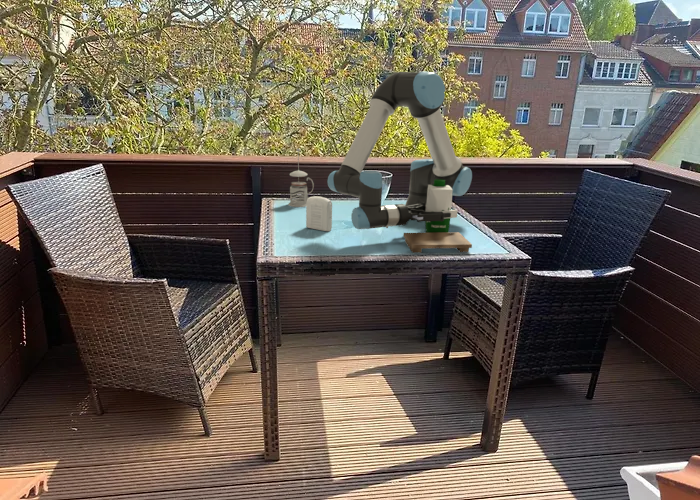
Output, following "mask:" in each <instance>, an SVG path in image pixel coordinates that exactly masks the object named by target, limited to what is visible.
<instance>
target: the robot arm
mask: <svg viewBox="0 0 700 500" xmlns="http://www.w3.org/2000/svg"><path fill="white" fill-rule="evenodd" d="M445 92H446V86H445V84H444V81H443V79H442V77H441V76H440V75H439V74H437V73H435V72H431V71H425V70H424V71H418V72H417V71H397V72H394V73H392V74H391V75H389V76H388V77H386V78H385V79H384V80H383V81H382V82H381V83H380V84H379V86H378V87H377V88H376V89H375V91H374V92H373V95H372V96H371V98H370V100H369V105H370V106H369V109H368V111H367V112H366V115H365V117H364V119H363V121H362V123H361V125H360V127H359V128H358V131H357V133H356V135H355V137H354V139H353V141H352V143H351V145H350V147H349V149H348V151H347V153H346V154H345V157H344V159H343V161H342V162H341V165H340V167H339V170H334V171H333V170H332V171H331V173H329V175H328V177H327V186H328V188H329V189H330V190H331V191H333V192H336V193H337V194H342V195H347V196H352V197H355V198H358V201H359V202H358V206H357V207H354V208H352V212H351V215H350V216H351V218H350V219H351V223H352V225H353V227H354V228H355V229H357V230H370V229H379V228H385V229H389V227H395V226H397V227H398V226H405V225H408V223H409V221H416V222H418V223H421V222H425V221H441V222H442V221H444V219H446V218H450V219H452V218H453V219H455V218H458V209H451V210H447V211H441V212H428V211H426V203H427V191H428V185H434V180H435V179H442V180H445V185H449V186H450V187H451V188H452V189H453V191H452V197H453V196H456V197H461V196H463V195H465V194H466V193H467V191H469V188H470V186H471V184H472V179H473V171H472V170H471V168H470V167H468V166H464V165H463V161H462V159H461V158H460V157H459V156H456V153H455V150H454V147H453V145H452V141H451V139H450V136H449V135H450V134H449V133H448V129H447V126H446V124H445V121H444V118H443V115H442V111H441V108H442V106H443V102H444V100H445V97H446V94H445ZM399 107H406V108H407V109H408V110H409V113H410V116H411V117H412V118H413V119H414V118H415V119H417V121H418V125H419V127H420V130H421V132H422V136H423V139H424V140H425V142H426V143H425V144H426V146H427V149H428V151H429V154H430V156H431V158H425V159H424V158H423V159H415V160H413V161H412V162H411V163H410V170H409V174H410V175H409V189H408V197H407V199H406V202H405V204H404V203H398V204H397V203H396V204H384V205H382V196H383V174H382V173H381V172H380V171H377V170H363V169H364V168H365V166H366V163H367V162H368V159H369V157H370V156H371V154H372V151H373V149H374V148H375V146H376V143H377V142H378V139H379V137H380V135H381V133H382V132H383V129H384V128H385V125H386V123H387V121H388V119H389V116H392V115H393V114H394V113H395V111H396V109H397V108H399Z"/></svg>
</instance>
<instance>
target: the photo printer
mask: <svg viewBox="0 0 700 500" xmlns="http://www.w3.org/2000/svg"><path fill="white" fill-rule="evenodd" d="M305 209H306V210H305V212H306V214H305V215H306V216H305V218H306V220H305V223H306V224H305V226H306V228H309V229H314V230H317V231H318V230H319V231H321V232H323V231H324V232H331V231H332V228H333V227H332V225H333V202H332V200H330V199H329V198H326V197H324V196H315V195H313V196H310V197H309V196H308V199H307V202H306V206H305Z"/></svg>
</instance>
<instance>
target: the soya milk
mask: <svg viewBox="0 0 700 500" xmlns="http://www.w3.org/2000/svg"><path fill="white" fill-rule="evenodd" d="M452 191H453V189H452V188H451V187H450V186H449V185H445V180H442V179H435V180H434V185H428V191H427V203H426V211H428V212H441V211H447V210H452V203H453V196H452ZM424 223H425V224H424V225H425V233H437V232H450V231H449V230H450V224H451V218H446V219H444V221H442V222H441V221H424Z"/></svg>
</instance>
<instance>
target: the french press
mask: <svg viewBox="0 0 700 500" xmlns="http://www.w3.org/2000/svg"><path fill="white" fill-rule="evenodd" d="M296 152H297V153H298V154H297V155H298V156H297V166H298V169H297V170H294V171H292V172H290V173H289V176H290V177H296V178H297V177H298V178H297V179H298V181H291V182H290V187H289V193H290V194H289V196H290V200H289V202H288V205H287V206H290V207H293V208H300V207H301V208H304V207H305V208H306V202H307V199H308V198H309V196H308V195H310V194H311V193H312V192H313V190H314V187H315V183H314V181H313V179H312V178H310V177H307V176H308V173H307V172H305V171H302V170H300V167H299V165H300V163H299V161H300V160H299V159H300V158H299V157H300V155H299V153H300V152H301V149H300V148H296ZM302 177H306V181H307V182H308V180H310V181H311V184H312V189H311V190H310V192H308V186H307V184H308V183H307V182H305V181H300V178H302Z"/></svg>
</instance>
